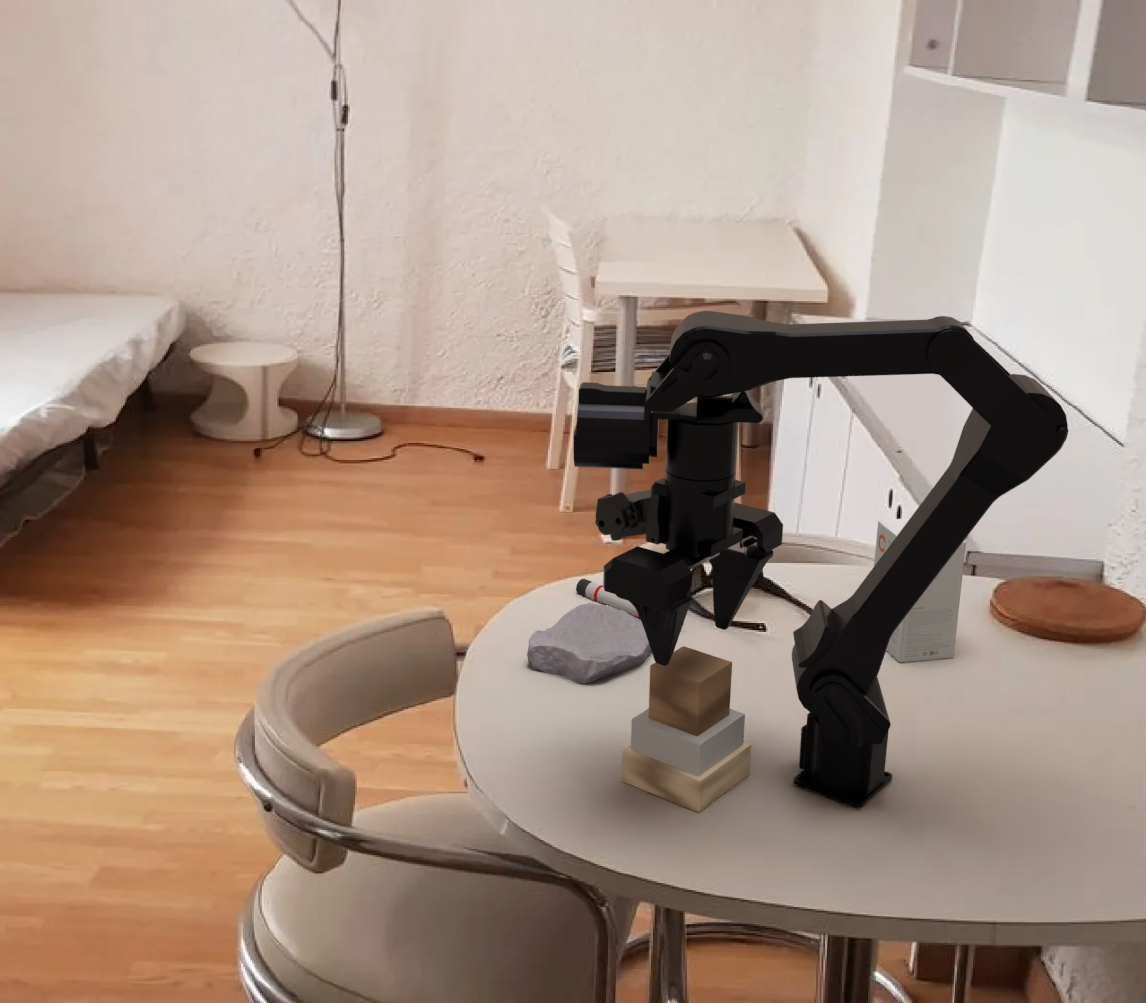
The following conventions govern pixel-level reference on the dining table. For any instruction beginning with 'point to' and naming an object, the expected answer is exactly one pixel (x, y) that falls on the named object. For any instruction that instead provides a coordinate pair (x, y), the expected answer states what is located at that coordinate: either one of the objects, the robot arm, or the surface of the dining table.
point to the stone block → (589, 644)
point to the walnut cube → (690, 691)
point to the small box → (926, 606)
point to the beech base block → (686, 778)
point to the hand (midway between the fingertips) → (692, 645)
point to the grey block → (687, 742)
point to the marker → (604, 596)
